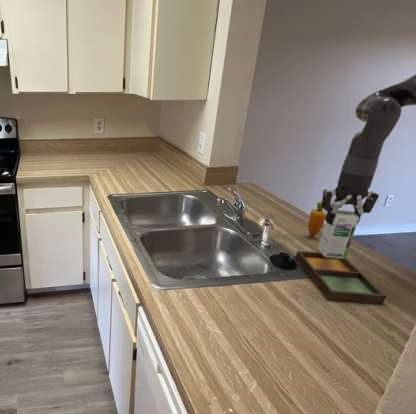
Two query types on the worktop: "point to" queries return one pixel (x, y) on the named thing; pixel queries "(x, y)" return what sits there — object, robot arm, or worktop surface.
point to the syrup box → (338, 234)
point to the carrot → (316, 220)
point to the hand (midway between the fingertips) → (340, 223)
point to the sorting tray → (339, 278)
